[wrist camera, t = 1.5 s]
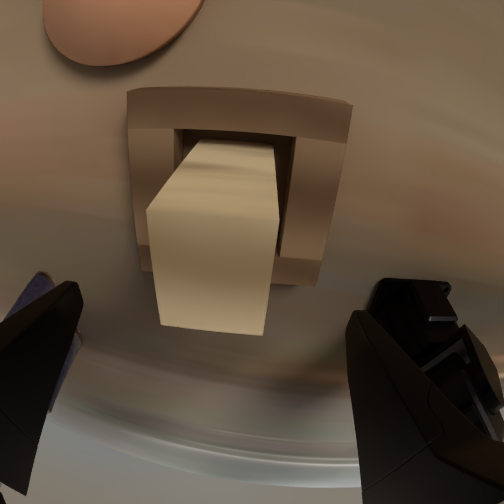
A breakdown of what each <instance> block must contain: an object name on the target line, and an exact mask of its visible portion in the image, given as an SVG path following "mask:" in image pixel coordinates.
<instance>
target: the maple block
mask: <svg viewBox="0 0 504 504" xmlns="http://www.w3.org/2000/svg"><path fill="white" fill-rule="evenodd" d="M146 214H147V224H148V234H149V243H150V252H151V260H152V268H153V276H154V283H155V290H156V297H157V303H158V309H159V315H160V321H161V325H166V326H173V327H181V328H190V329H198V330H207V331H217V332H227V333H238V334H250V335H263V329H264V323H265V316H266V310H267V303H268V297H269V290H270V283H271V276H272V269H273V262H274V255H275V248H276V241H277V234H278V227H279V208H278V196H277V184H276V172H275V160H274V149H273V144H268V143H257V142H245V141H231V140H214V139H200V140H199V142H198V143H197V144H196V145H195V146H194V148H193V149H192V150H191V151H190V153H189V154H188V155H187V156H186V158H185V159H184V160H183V161H182V163H181V164H180V165H179V167H178V168H177V169H176V170H175V172H174V173H173V174H172V176H171V177H170V178H169V179H168V181H167V182H166V183H165V185H164V186H163V187H162V189H161V190H160V191H159V193H158V194H157V196H156V197H155V198H154V200H153V201H152V202H151V204H150V205H149V207H148V208H147V209H146Z"/></svg>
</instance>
